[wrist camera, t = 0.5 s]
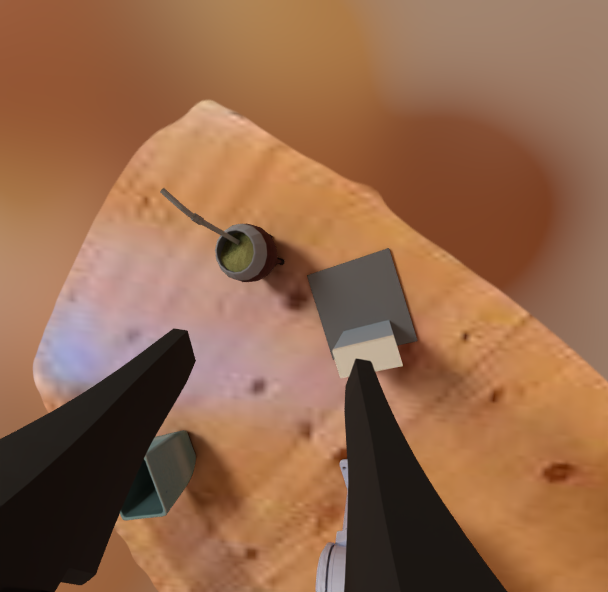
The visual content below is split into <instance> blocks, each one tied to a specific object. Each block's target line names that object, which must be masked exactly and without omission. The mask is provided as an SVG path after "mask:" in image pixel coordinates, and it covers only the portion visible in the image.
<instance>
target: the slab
mask: <svg viewBox="0 0 608 592" xmlns="http://www.w3.org/2000/svg"><path fill="white" fill-rule="evenodd" d="M332 353H333V356H334V359H335V362H336V365H337V369H338V372H339V375H340V378H345V377H349V375H350V373H351V370H352V367H353V364H354V361H355V359H356V358H357V359H363V360H369V361H371V362H372V364H373V367H374V370H375V371H380V370H385V369H390V368H395V367H400V366H403V364H402V361H401V357H400V354H399V351H398V348H397V344H396V341H395V338H394V335H393V331H392V328H391V325H390V322H389V320H386V321H382V322H378V323H374V324H370V325H367V326H363V327H359V328H355V329H351V330H347V331H343V333H342V335H341V336H340V338H339V340H338V342H337V343H336V345H335V347H334V349H333V351H332Z"/></svg>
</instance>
